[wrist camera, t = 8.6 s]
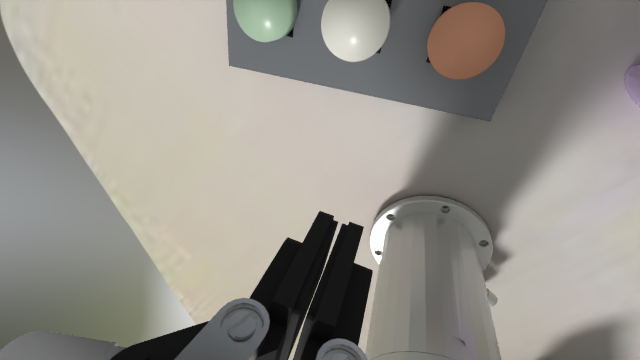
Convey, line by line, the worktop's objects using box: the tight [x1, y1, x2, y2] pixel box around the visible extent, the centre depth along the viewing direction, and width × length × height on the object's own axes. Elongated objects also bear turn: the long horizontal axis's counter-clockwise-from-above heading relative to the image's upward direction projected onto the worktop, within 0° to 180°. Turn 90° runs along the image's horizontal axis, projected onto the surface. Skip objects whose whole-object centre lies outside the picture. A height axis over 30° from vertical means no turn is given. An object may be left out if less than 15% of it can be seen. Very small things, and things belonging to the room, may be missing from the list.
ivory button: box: [321, 0, 391, 62], centre depth 21 cm, size 4×4×4 cm
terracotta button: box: [427, 2, 505, 79], centre depth 20 cm, size 4×4×4 cm
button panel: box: [226, 0, 547, 121], centre depth 22 cm, size 22×10×3 cm, turn 83°
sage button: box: [233, 0, 297, 42], centre depth 23 cm, size 4×4×4 cm
